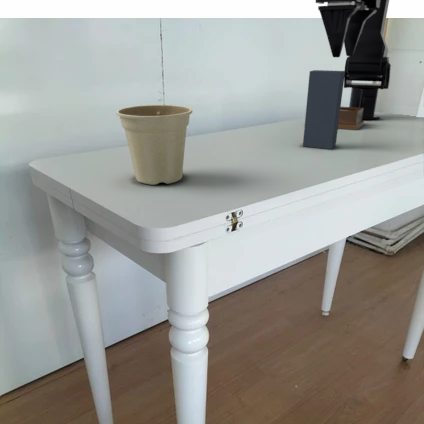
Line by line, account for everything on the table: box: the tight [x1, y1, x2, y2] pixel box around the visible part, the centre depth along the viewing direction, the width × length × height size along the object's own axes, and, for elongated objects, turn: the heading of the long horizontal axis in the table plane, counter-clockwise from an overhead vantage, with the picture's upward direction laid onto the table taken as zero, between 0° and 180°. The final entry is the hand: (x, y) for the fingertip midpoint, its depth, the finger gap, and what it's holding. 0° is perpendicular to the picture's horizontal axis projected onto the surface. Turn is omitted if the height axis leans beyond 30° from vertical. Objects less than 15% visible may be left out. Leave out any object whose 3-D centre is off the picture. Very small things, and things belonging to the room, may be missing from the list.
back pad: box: [302, 69, 345, 150], centre depth 74 cm, size 2×5×12 cm, turn 62°
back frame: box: [338, 106, 366, 131], centre depth 93 cm, size 7×10×3 cm
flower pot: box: [115, 104, 193, 186], centre depth 58 cm, size 9×9×9 cm
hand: (343, 56), depth 77 cm, fingers open, 9 cm apart
